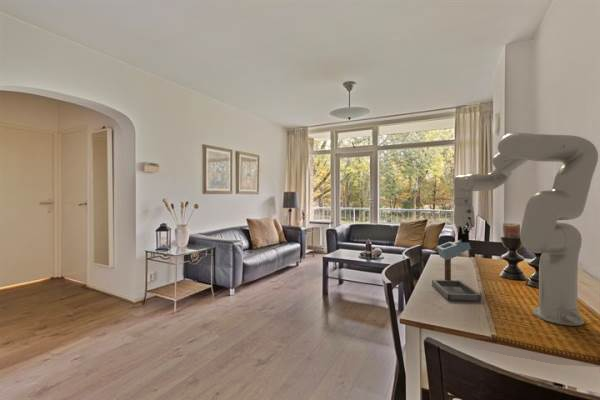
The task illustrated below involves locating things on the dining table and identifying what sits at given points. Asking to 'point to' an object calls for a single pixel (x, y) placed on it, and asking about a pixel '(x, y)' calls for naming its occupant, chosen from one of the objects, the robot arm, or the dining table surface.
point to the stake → (448, 269)
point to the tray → (456, 290)
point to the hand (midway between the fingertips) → (463, 241)
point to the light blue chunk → (452, 249)
